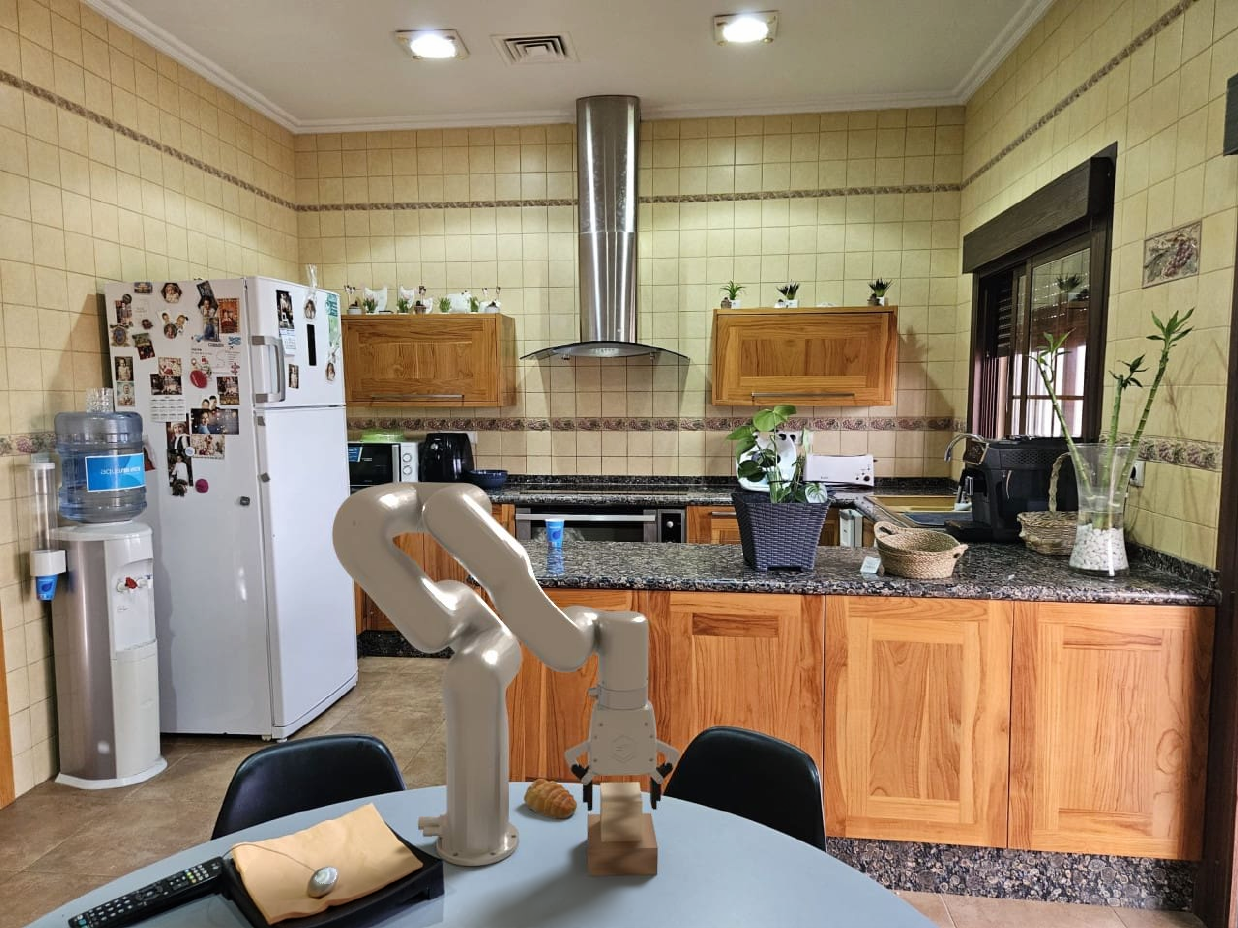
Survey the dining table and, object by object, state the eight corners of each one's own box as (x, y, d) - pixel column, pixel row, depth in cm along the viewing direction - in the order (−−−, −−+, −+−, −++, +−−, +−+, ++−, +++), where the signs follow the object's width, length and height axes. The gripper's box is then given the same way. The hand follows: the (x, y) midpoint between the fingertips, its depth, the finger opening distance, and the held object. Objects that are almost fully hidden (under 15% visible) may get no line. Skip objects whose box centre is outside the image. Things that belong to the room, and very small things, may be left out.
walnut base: (588, 875, 115) (588, 848, 115) (587, 838, 125) (587, 814, 125) (657, 874, 116) (657, 847, 115) (650, 837, 125) (651, 812, 125)
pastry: (586, 810, 134) (586, 788, 134) (559, 826, 129) (559, 803, 129) (546, 792, 140) (546, 772, 140) (519, 807, 135) (519, 786, 135)
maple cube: (601, 841, 117) (601, 801, 116) (600, 820, 123) (600, 782, 122) (642, 840, 117) (642, 801, 117) (638, 819, 123) (639, 782, 123)
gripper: (564, 704, 114) (563, 819, 115) (683, 703, 115) (681, 817, 116) (565, 686, 122) (564, 794, 123) (676, 685, 123) (675, 792, 124)
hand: (621, 805), depth 120 cm, fingers open, 9 cm apart
